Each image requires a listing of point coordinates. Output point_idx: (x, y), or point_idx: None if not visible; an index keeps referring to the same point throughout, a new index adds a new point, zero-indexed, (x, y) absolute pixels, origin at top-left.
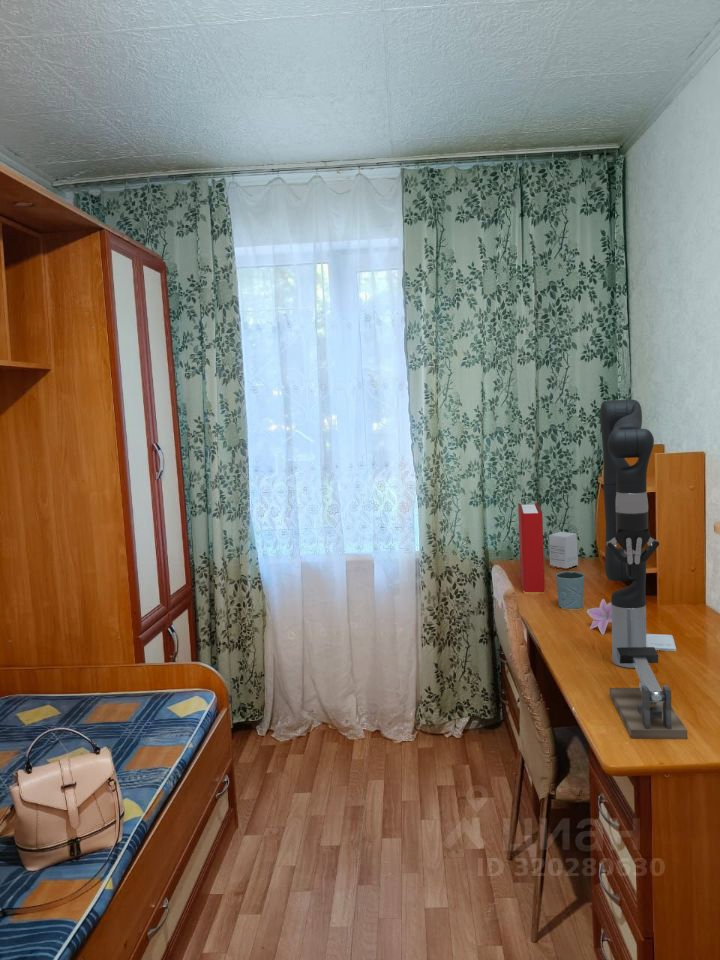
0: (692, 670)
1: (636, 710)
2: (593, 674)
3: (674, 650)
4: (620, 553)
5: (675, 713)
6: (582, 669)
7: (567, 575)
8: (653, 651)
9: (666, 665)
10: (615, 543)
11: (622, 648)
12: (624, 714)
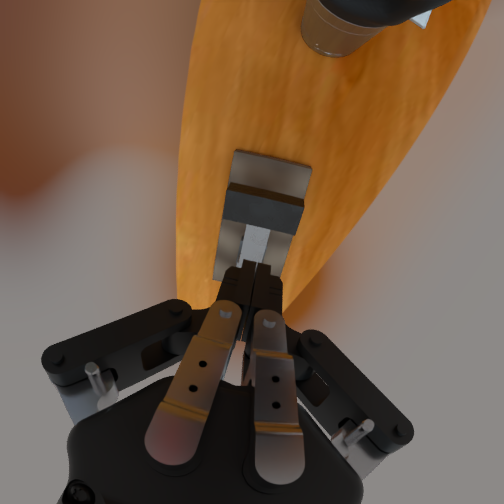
0: (411, 99)
1: (240, 235)
2: (244, 62)
3: (421, 26)
4: (151, 374)
5: (286, 255)
6: (235, 39)
7: None
8: (293, 222)
9: (384, 65)
10: (101, 406)
11: (237, 195)
12: (219, 243)
